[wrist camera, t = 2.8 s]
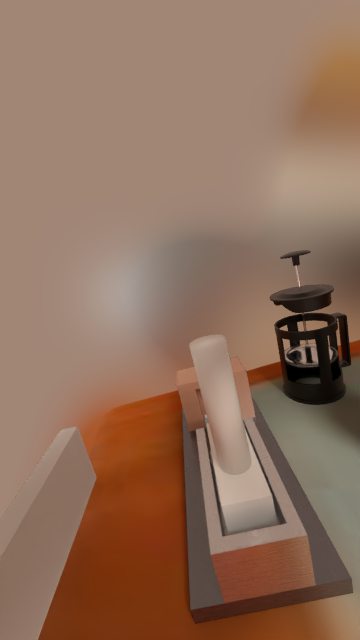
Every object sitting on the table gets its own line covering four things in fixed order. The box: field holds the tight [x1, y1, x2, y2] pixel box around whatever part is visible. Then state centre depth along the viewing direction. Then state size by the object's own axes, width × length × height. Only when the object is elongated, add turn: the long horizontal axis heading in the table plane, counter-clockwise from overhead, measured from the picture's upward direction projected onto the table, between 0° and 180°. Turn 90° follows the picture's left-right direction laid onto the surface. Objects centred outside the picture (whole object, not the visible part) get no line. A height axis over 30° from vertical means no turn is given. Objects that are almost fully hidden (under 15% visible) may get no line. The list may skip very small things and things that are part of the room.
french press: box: [270, 250, 351, 405], centre depth 41 cm, size 12×9×23 cm
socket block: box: [177, 357, 255, 432], centre depth 40 cm, size 10×5×8 cm, turn 91°
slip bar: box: [189, 335, 278, 535], centre depth 25 cm, size 4×12×16 cm, turn 1°
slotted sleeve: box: [182, 396, 353, 623], centre depth 32 cm, size 12×27×6 cm, turn 1°
